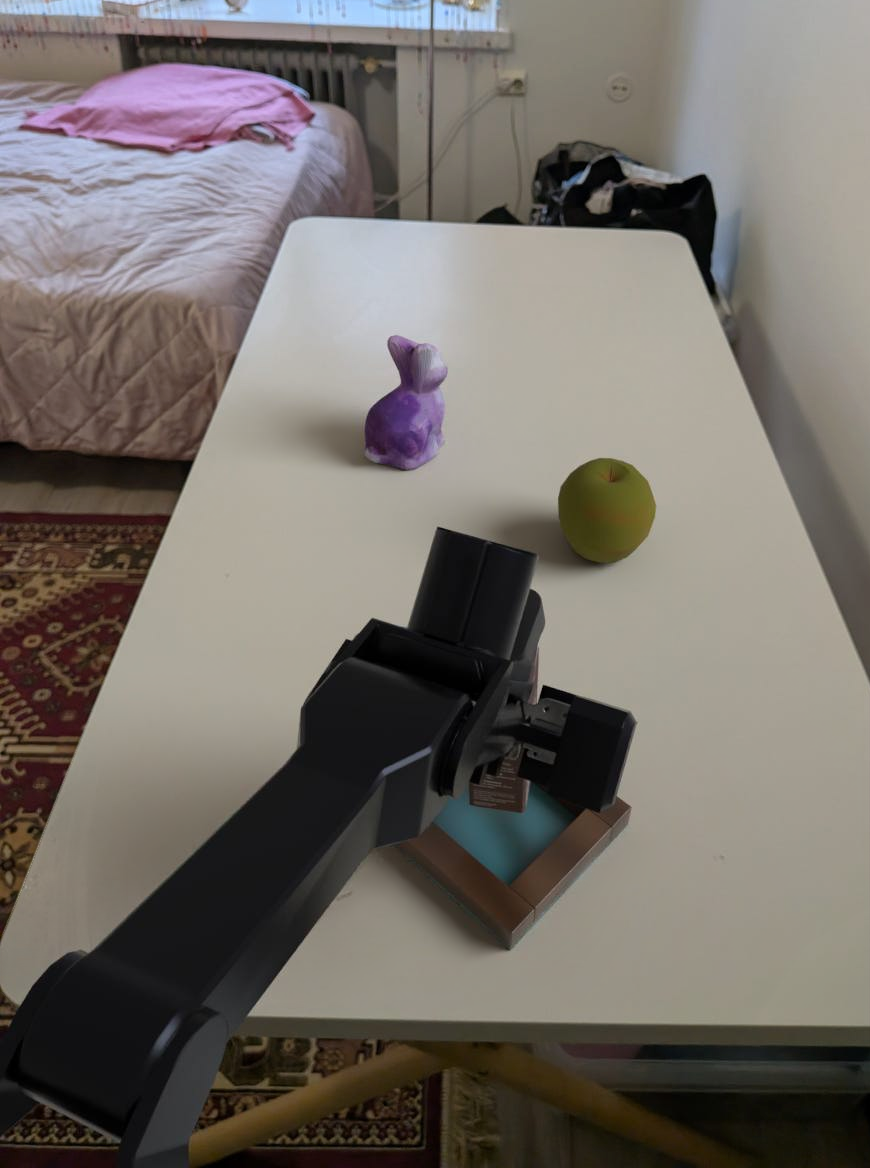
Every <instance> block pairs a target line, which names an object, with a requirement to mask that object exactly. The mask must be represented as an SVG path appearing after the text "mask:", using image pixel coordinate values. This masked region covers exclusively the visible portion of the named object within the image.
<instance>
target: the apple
mask: <svg viewBox="0 0 870 1168" xmlns="http://www.w3.org/2000/svg"><path fill="white" fill-rule="evenodd" d="M557 510H558V511H557V512H558V513H557V515H558V521H559V524H560V527H561V529H562V532H563V535H564V536H565V539H566V540H567V543H568V545H569V546H570V547H571V548H572V550H573V551H574V552H575V554H578V556H580V557H582V558H584V559H585V560H588V561H592V562H596V563H604V564H605V563H617V562H619V561H622V560H624V559H627V558H628V557H629V556H630V555H631V554H633V553H634V552H635V551H636V550H637V549H638V548H639V547H640V546H641V544H642V543H643V542H644V541H645V540H646V539H647V538H648V537H649V534H650V532H651V530H652V526H653V525H654V521H655V518H656V512H657V511H656V510H657V504H656V500H655V496H654V494H653V491H652V488H651V485H650V483H649V480H648V479H647V478H646V477H645V476H644V475H643V474H642V473H641V472H640V471H639V470H638V469H637V468H636V467H635V466H634V465H633V464H631V463H628V462H626V461H623V460H620V459H617V458H613V457H612V458H611V457H599V458H594V459H591V460H589V461H586V462H585V463H582V464H581V465H579V466H578V467H576V468H575V469H574V470H572V471H571V472H570V473H569V474H568V476H567V477H566V479H565V480H564V482H563V483H562V484H561V485H560V488H559V492H558V497H557Z"/></svg>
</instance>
